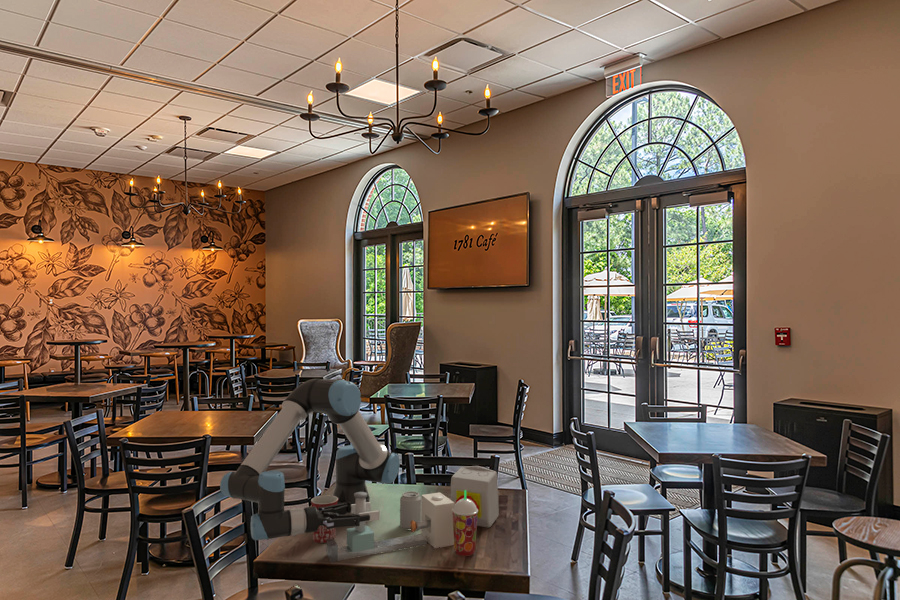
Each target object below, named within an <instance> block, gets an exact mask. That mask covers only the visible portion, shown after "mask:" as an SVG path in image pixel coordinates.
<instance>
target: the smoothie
mask: <svg viewBox="0 0 900 600" xmlns="http://www.w3.org/2000/svg"><path fill="white" fill-rule="evenodd" d="M452 512H453V531H454V545H453V546H454V550H455V554H457V555H458V556H462V557H469V556H472V555H473V554H474V553H475V551H476V548H477V547H476V546H477V545H476V543H477V530H478V529H477V528H478V526H477V517H478V509H477V507H476V505H475V503H474V502H473V501H472V500H470V499H467V498H466V490H464V498H463V499H460V500H459V501H457V502H456V504H455V506H454V508H453V509H452Z"/></svg>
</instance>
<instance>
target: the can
mask: <svg viewBox="0 0 900 600" xmlns="http://www.w3.org/2000/svg"><path fill="white" fill-rule="evenodd" d="M399 502H400V505H399V508H400V509H399V513H400V514H399V525H400V527H401V528H402V529H403V528H404V529H403V530H406V529H410V521H413V520H414V521H415V522H419V521H421V496H420V493H419V492H417V491H405V492H403V493H402V494H401V496H400V501H399Z"/></svg>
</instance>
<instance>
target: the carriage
mask: <svg viewBox="0 0 900 600" xmlns="http://www.w3.org/2000/svg"><path fill="white" fill-rule="evenodd" d="M354 497H355V498H356V504H355V513H354V515H359V513H364V512H367V511H366V497H367V493H366V492H356V493H354ZM374 542H375V532H374V531H373V530H372V529H371V528H370V526H369V525H366V522H361V523H360V526H354V527H350V528H348V527H347V528H346V546H348V547H349V548H350V550H351V551H352V552H358V551H364V550H370V549H374Z"/></svg>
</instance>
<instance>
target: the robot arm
mask: <svg viewBox="0 0 900 600" xmlns="http://www.w3.org/2000/svg"><path fill="white" fill-rule="evenodd" d="M361 396H362V395H361V391H360V389H359V387H358V386H357V385H356V384H355V383H354V382H352V381H349V380H344V379H339V380H338V379H328V378H327V379H323V378H312V379H309V380H308V379H307V380H306V381H304V382H302V383H301V384H299V385H298V386H297V387H295V388H294V389H293V390H292V391H291V392H290V393H289V394H288V396H286V398H285V399H284V400H283V402H282V403H281V410H280V411H279V412H278V413H277V415H276V416H275V418H274V419H273V420H272V422H271V423H270V425H268V427H267V429H266V430H265V431H264V433H263V434H262V436H261V437H260V438H259V439H258V441H257V442H256V444H255V445H254V446H253V447H252V449H251V451H249V453H248V455H247V456H246V457H245V459H244V460H243V462H241V464H240V466H238V468H237V469H236V471H229V472H227V473H225V474H224V475H223V476H222V478H221V480H220V483H219V489H220V492H221V494H222V495H223V496H225V497H228V498H231V499H233V500H234V499H238V500H243V501H246V502H247V501H248V502H253V503H256V504H257V505H258V506H257V507H258V510H257V513H255V514H252V515H251V516H250V536H251V539H252V540H253V541H262V540H263V541H264V540H265V541H266V540H272V539H277V538H282V537H283V538H284V537H289V536H292V537H295V536H297V535H303V534H304V533H305V534H310V533H312V534H313V532H316V531H317V530H318V527H319V526H327V529H331V528H337V529H338V528H348V527H350V528H352V527H355V526H360V523H361V522H365V523H366V522H373V521H380V510H379V509H377V510H371V509H372V503H371V501H370V498H371V497H370V494H369V491H368V488H367V485H366V481H368V482H372V483H373V482H374V483H379V484H382V485H384V484H386V485H390V484H392V483H393V482H394V481H395V480H396V478H397V476H398V474H399V470H400V455H398V454H397V453H395V452H390V451H389V450H388V449H387V447H386V446H385V444H383V443H380V442H378V440H377V438H376V436H375V435H374V433H373V432H372V429H371V427H370V426H369V425H368V423H367V422H366V420H365V417H363V416H362V415H363V414H361V412H360V408H361V405H362V398H361ZM312 413H322V414H325V415H326V416H327V418H328V419H329V420H330V421H331V423H333V424H335V425H339V427H340V429H341V430H342V432H343V433H344V435H345V437H346V438H347V440H348V441H349V442H350V444H348V445H344V446H341V447H339V448H337V451H336V456H335V487H334V490H333V493H332V496H336V497H337V498H338V501H337V504H336V505H331V506H326V507H318V511H317V508H316V507H315V506H313V507H312V506H309V507H308V506H307V507H304V508H302V507H298V508H292V509H285V491H286V490H285V488H286V485H285V474H284V473H283V472H282V471H280V470H268V468H269V466H270V465H271V463H272V462H273V460H274V459H275V458H276V456H277V455H278V453H280V450H281V449H282V447H284V445H285V443H286V442H287V440H289V438H290V436H291V435H292V433H293V432H294V430H295V429H296V427H298V425H299V424H300V422H301V421H304V420H306V418H307V417H308V416H309V415H310V414H312ZM266 470H267V471H266ZM356 492H366V493H367V497H366V512H364V513H359V515H355V504H356V498H355V497H354V493H356ZM349 513H350V514H349Z"/></svg>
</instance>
